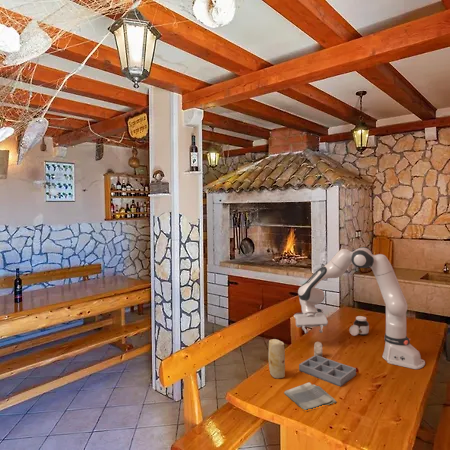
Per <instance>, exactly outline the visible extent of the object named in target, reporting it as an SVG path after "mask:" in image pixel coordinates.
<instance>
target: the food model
mask: <svg viewBox="0 0 450 450" xmlns="http://www.w3.org/2000/svg"><path fill="white" fill-rule="evenodd" d="M285 353H286V352H285V343H284V341H281V340H279V339H276V338H273V339H269V340H268V357H267V358H268V369H269V373H270V375H271V377H272V378H274V379H283V378H285V375H286V372H285V371H286V362H285V361H286V354H285Z"/></svg>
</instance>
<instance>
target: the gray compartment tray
mask: <svg viewBox="0 0 450 450" xmlns="http://www.w3.org/2000/svg"><path fill="white" fill-rule="evenodd" d="M298 371H299V372H301V373H304V374H306V375H309V376H311V377H314V378H316V379H320V380H322V381H324V382H327V383H329V384H332V385H335V386H337V387H339V386H340V387H339V388H341V387H342V386H344V385H346V384H347V383H348V382H349V381H350V380H351V379H353V378H354V377H356V375H357V368H356V367H353V366H350V365H347V364H343V363H341V362H339V361H335V360H332V359H330V358H325V357H323V356H322V357H321V356H318V355H314V354H313V356H310V357H309V358H307V359H306V360H304V361H302V362H301V363H299V365H298Z"/></svg>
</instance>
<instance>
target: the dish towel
mask: <svg viewBox="0 0 450 450" xmlns="http://www.w3.org/2000/svg"><path fill="white" fill-rule="evenodd" d="M283 394H284V395H285V396H286V397H288V398H289V400H291V401H292V402H293V403H294V402H295V404H296V405H297V406H298V407H299V408H300V407H301V408H302V409H304V410H308V409H313V408H316V407H319V406H322V405H329V406H331V405H330V404H332V405H334V404H333V403H335V404H336V403H337V400H336V399H335V397H333V396H332V395H330V394H329V393H328V392H326V391H325V390H324V389H323V388H322V387H321V386H320V385H316V384H312V383H311V382H310V381H309V382H306V383H303V384H301V385H298V386H295V387H292V388H290V389H286V390H285V391H284V392H283ZM301 408H300V409H301ZM302 409H301V410H302ZM304 410H303V411H304Z"/></svg>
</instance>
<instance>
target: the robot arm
mask: <svg viewBox="0 0 450 450" xmlns="http://www.w3.org/2000/svg"><path fill="white" fill-rule="evenodd" d="M351 265H353V266H354V267H356V268H359V269H371V271H372V274H373V276H374V278H375V280H376V283H377V285H378V288H379V291H380V293H381V296H382V299H383V302H384V305H385V333H384V343H385V344H384V350H383V353H382V358H383V359H384V360H385V361H386V363H388V364H391V365H395V366H399V367H404V368H408V369H413V370H419V369H422V368H424V366H425V365H426V360H424V359H422V357H421V353H420V351H419V350H417V348H416V347H414V346H413V345H412V344H411V343H410V341H411V337H410V338H409V337H408V336H407V311H408V308H409V307H408V303H407V302H408V301H407V299H406V297H405V295H404V293H403V291H402V287H401V284H400V283H399V280H398V277H397V276H396V273H395V270H394V268H393V266H392V264H391V262H390V261H389V259H388V257H387V256H386V255H385V254H382V253H378V254H373V252H372V250H371V249H370V248H369V247H366V246H361V247H358V248H355V249H352V250H349V249H347V248H341V249H339V250H338V251H337V252H336V253H335V255H333V257H332V258H331V259H330V261H328V262H327V263H326V264H325V265H323V266H321V267H320V268H318V269H317V270H316V271H315V272H314V273H313V274H312V276H310V277H309V278H308V279H307V280H306V281H305V282H304V283H303V284H301V285H300V286H299V287H298V289H297V295H298V300H299V304H300V306H301V312H296V313H294V315H293V318H294V320H295V326H296V328H301V329H302V331H304V334H308V333H309V331H308V329H306V328H311V327H312V328H313V327H315V328H316V327H319V333H323V329H324V327H326V326H327V325H328V323H329V321H328V318H327V316H326V314H325V313H324V309H322V308H318V307H316V305H319V304H321V303H323V302H324V301H325V292H324V290H322V289H320V288H318V287H316V286H317V285H318V284H319V283H320V282H321V281H323V280H326V279H338V278H340V277H342V276H343V275H344V274H345V272H347V270H348V269H349V267H350V266H351Z"/></svg>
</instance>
